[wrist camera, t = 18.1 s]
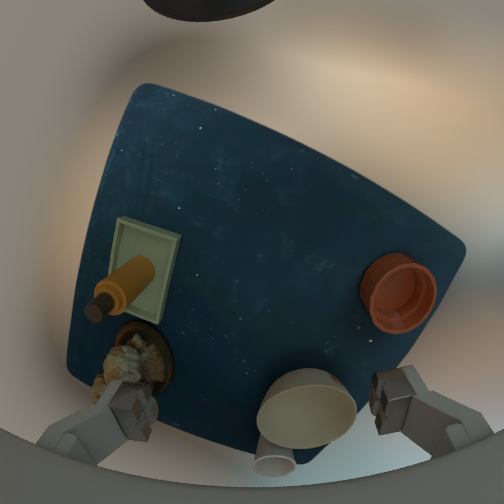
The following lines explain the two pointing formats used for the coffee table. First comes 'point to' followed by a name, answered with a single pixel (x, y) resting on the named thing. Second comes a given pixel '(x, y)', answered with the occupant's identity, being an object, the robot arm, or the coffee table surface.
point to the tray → (157, 251)
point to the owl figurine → (137, 359)
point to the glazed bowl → (398, 293)
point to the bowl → (306, 409)
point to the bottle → (120, 288)
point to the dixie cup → (273, 459)
